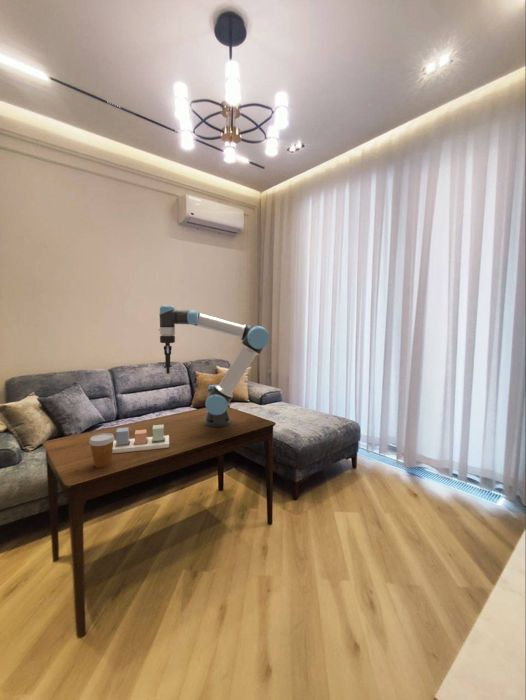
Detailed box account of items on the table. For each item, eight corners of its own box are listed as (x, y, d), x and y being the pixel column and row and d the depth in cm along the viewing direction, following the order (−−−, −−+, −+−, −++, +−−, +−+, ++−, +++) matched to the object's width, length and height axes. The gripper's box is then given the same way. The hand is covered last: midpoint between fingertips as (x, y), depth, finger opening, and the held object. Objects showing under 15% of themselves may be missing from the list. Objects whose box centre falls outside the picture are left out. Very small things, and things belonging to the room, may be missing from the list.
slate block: (129, 439, 147) (128, 427, 147) (128, 443, 142) (127, 431, 142) (117, 440, 146) (117, 428, 145) (116, 444, 141) (115, 432, 140)
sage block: (163, 435, 152) (163, 424, 151) (163, 439, 147) (163, 427, 147) (153, 436, 151) (152, 425, 150) (152, 440, 146) (152, 428, 145)
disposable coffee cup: (96, 459, 133) (95, 432, 131) (118, 458, 133) (118, 432, 132) (85, 470, 123) (84, 441, 122) (109, 469, 124) (108, 441, 123)
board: (168, 438, 156) (168, 435, 156) (169, 447, 146) (169, 443, 145) (113, 444, 148) (113, 440, 148) (109, 454, 138) (109, 449, 137)
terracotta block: (146, 441, 150) (146, 429, 149) (146, 445, 145) (145, 433, 144) (135, 442, 148) (135, 430, 148) (134, 446, 144) (134, 434, 143)
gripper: (160, 334, 164) (160, 377, 167) (159, 336, 152) (160, 382, 155) (174, 334, 167) (175, 376, 169) (175, 336, 154) (175, 381, 157)
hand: (168, 379), depth 162 cm, fingers closed
